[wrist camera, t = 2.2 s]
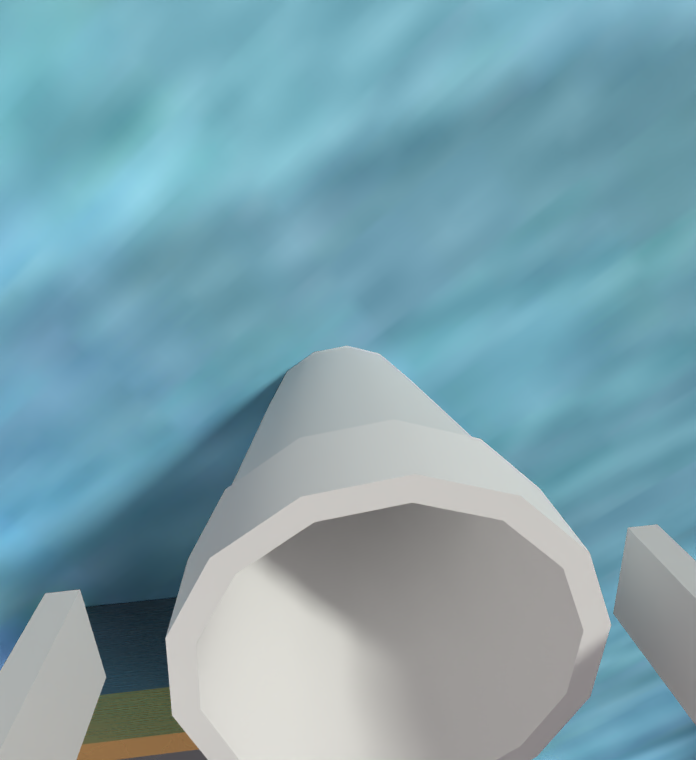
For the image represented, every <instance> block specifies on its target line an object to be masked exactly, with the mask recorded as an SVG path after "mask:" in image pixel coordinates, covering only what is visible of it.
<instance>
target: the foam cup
mask: <svg viewBox="0 0 696 760" xmlns="http://www.w3.org/2000/svg"><path fill="white" fill-rule="evenodd" d="M610 627H611V623H610V619H609V616H608V613H607V609H606V606H605V603H604V599H603V596H602V593H601V589H600V586H599V583H598V579H597V576H596V573H595V569H594V566H593V563H592V559H591V556H590V553H589V551H588V550H587V549H586V547H585V546H584V545H583V543H582V542H581V541H580V540H579V538H578V537H577V536H576V534H575V533H574V532H573V531H572V529H571V528H570V527H569V525H568V524H567V523H566V522H565V520H564V519H563V518H562V517H561V515H560V514H559V513H558V511H557V510H556V509H555V508H554V506H553V505H552V504H551V502H550V501H549V500H548V499H547V497H546V496H545V495H544V493H543V492H542V491H541V490H540V488H538V487H537V486H536V485H535V484H534V483H533V482H531V481H530V480H529V479H528V478H527V477H525V476H524V475H523V474H522V473H521V472H519V471H518V470H517V469H516V468H515V467H514V466H512V465H511V464H510V463H509V462H508V461H506V460H505V459H504V458H503V457H502V456H500V455H499V454H498V453H497V452H496V451H495V450H493V449H492V448H491V447H490V446H489V445H487V444H486V443H485V442H484V441H483V440H481V439H479V438H475V437H472V436H471V435H469V434H468V433H467V432H466V431H465V430H464V429H463V428H462V427H461V426H460V425H459V424H458V423H456V422H455V421H454V420H453V419H452V418H451V417H450V416H449V415H448V414H447V413H446V412H445V411H443V410H442V409H441V408H440V407H439V406H438V405H437V404H436V403H435V402H434V401H433V400H432V399H431V398H429V397H428V396H427V395H426V394H425V393H424V392H423V391H422V390H421V389H420V388H419V387H418V386H416V385H415V384H414V383H413V382H412V381H411V380H410V379H409V378H408V377H407V376H405V375H404V374H403V373H402V372H401V371H399V370H398V369H397V368H396V367H395V366H394V365H392V364H391V363H390V362H389V361H388V360H386V359H385V358H384V357H383V356H382V355H380V354H379V353H375V352H371V351H367V350H363V349H358V348H354V347H350V346H343V347H338V348H333V349H328V350H323V351H317V352H314V353H312V354H311V355H309V356H308V357H307V358H305V359H304V360H302V361H301V362H300V363H298V364H297V365H295V366H294V367H293V368H291V369H290V370H289V371H287V373H286V375H285V376H284V378H283V380H282V382H281V384H280V386H279V388H278V389H277V391H276V393H275V395H274V397H273V399H272V401H271V403H270V404H269V407H268V409H267V411H266V413H265V415H264V417H263V419H262V421H261V424H260V426H259V428H258V430H257V432H256V434H255V436H254V439H253V441H252V443H251V445H250V447H249V449H248V451H247V453H246V456H245V458H244V460H243V462H242V464H241V466H240V468H239V471H238V473H237V475H236V477H235V479H234V481H233V483H232V485H231V486H229V487H228V488H226V489H225V491H224V493H223V494H222V496H221V498H220V500H219V502H218V504H217V506H216V508H215V509H214V511H213V513H212V515H211V517H210V519H209V521H208V522H207V524H206V526H205V528H204V530H203V532H202V534H201V536H200V537H199V539H198V541H197V543H196V545H195V547H194V549H193V550H192V552H191V554H190V556H189V558H188V561H187V564H186V568H185V571H184V575H183V578H182V582H181V585H180V589H179V592H178V596H177V599H176V603H175V606H174V610H173V613H172V617H171V620H170V624H169V627H168V631H167V634H166V638H165V640H166V651H167V663H168V674H169V686H170V697H171V709H172V716H173V717H174V718H175V720H176V721H177V722H178V723H179V725H180V726H181V727H182V728H183V730H184V731H185V732H186V733H187V735H188V736H189V737H190V738H191V740H192V741H193V742H194V743H195V745H196V746H197V747H198V748H199V750H200V751H201V752H202V753H203V755H204V756H205V757H206V758H207V759H208V760H531V759H533V758H535V757H537V756H538V754H539V753H540V752H541V751H542V750H543V749H544V748H545V747H546V746H547V744H548V743H549V742H550V741H551V740H552V739H553V738H554V737H555V735H556V734H557V733H558V732H559V731H560V730H561V729H562V728H563V727H564V725H565V724H566V723H567V722H568V721H569V720H570V719H571V718H572V716H573V715H574V714H575V713H576V712H577V711H578V710H579V709H580V708H581V706H582V705H583V704H584V703H585V702H586V701H587V700H588V699H589V697H590V696H591V692H592V689H593V685H594V682H595V679H596V675H597V672H598V668H599V665H600V661H601V658H602V655H603V651H604V648H605V644H606V641H607V637H608V634H609V631H610Z"/></svg>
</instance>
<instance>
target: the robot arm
mask: <svg viewBox="0 0 696 760" xmlns="http://www.w3.org/2000/svg"><path fill="white" fill-rule="evenodd" d="M613 614H614V615H615V617H616V618H617V619H618V621H619V622H620V623H621V625H622V626H623V627H624V629H625V630H626V631H627V633H628V634H629V635H630V637H631V638H632V640H633V641H634V642H635V644H636V645H637V646H638V648H639V649H640V650H641V652H642V653H643V654H644V656H645V657H646V658H647V660H648V661H649V663H650V664H651V665H652V667H653V668H654V669H655V671H656V672H657V673H658V675H659V676H660V677H661V679H662V680H663V681H664V683H665V684H666V686H667V687H668V688H669V690H670V691H671V692H672V694H673V695H674V696H675V698H676V699H677V700H678V702H679V703H680V704H681V706H682V707H683V709H684V710H685V711H686V713H687V714H688V715H689V717H690V718H691V719H692V721H693V722H694V723H695V725H696V561H695V560H694V559H693V558H692V557H691V556H690V555H689V554H688V553H687V552H686V551H685V550H683V549H682V548H681V547H680V546H679V545H678V544H677V543H676V542H675V541H674V540H673V539H672V538H671V537H670V536H669V535H668V534H667V533H666V532H665V531H664V530H662V529H661V528H660V527H659V526H658V525H648V526H639V527H630V528H628V529H627V535H626V541H625V547H624V553H623V559H622V565H621V571H620V577H619V583H618V588H617V594H616V600H615V606H614V612H613ZM105 679H106V675H105V671H104V668H103V665H102V661H101V658H100V655H99V651H98V648H97V645H96V641H95V638H94V635H93V631H92V628H91V625H90V621H89V618H88V614H87V611H86V608H85V604H84V601H83V598H82V594H81V591H80V589H79V590H70V591H62V592H53V593H45V595H44V596H43V598H42V600H41V601H40V603H39V605H38V607H37V608H36V610H35V612H34V614H33V615H32V617H31V619H30V620H29V622H28V624H27V626H26V627H25V629H24V631H23V633H22V634H21V636H20V638H19V639H18V641H17V643H16V645H15V646H14V648H13V650H12V652H11V653H10V655H9V657H8V659H7V660H6V662H5V664H4V665H3V667H2V669H1V671H0V760H76V759H77V757H78V754H79V751H80V748H81V746H82V743H83V740H84V737H85V735H86V732H87V729H88V726H89V723H90V721H91V718H92V715H93V712H94V710H95V707H96V704H97V701H98V698H99V696H100V693H101V690H102V687H103V685H104V682H105Z"/></svg>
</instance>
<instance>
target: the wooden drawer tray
mask: <svg viewBox="0 0 696 760" xmlns="http://www.w3.org/2000/svg"><path fill="white" fill-rule="evenodd" d="M176 599H177V598H169V599H159V600H150V601H140V602H131V603H121V604H112V605H102V606H93V607H86V611H87V614H88V618H89V621H90V625H91V628H92V631H93V635H94V638H95V641H96V645H97V648H98V651H99V655H100V658H101V661H102V665H103V668H104V671H105V675H106V679H105V682H104V685H103V687H102V690H101V693H100V696H99V698H98V701H97V704H96V707H95V710H94V712H93V715H92V718H91V721H90V723H89V726H88V729H87V732H86V735H85V737H84V740H83V743H82V746H81V748H80V751H79V754H78V757H77V759H76V760H208V759H207V758H206V757H205V756H204V755H203V753H202V752H201V751H200V750H199V748H198V747H197V746H196V745H195V743H194V742H193V741H192V740H191V738H190V737H189V736H188V735H187V733H186V732H185V731H184V730H183V728H182V727H181V726H180V725H179V723H178V722H177V721H176V720H175V718H174V717H173V716H172V709H171V697H170V686H169V674H168V663H167V651H166V640H165V638H166V634H167V631H168V627H169V624H170V620H171V617H172V613H173V610H174V606H175V603H176Z"/></svg>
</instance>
